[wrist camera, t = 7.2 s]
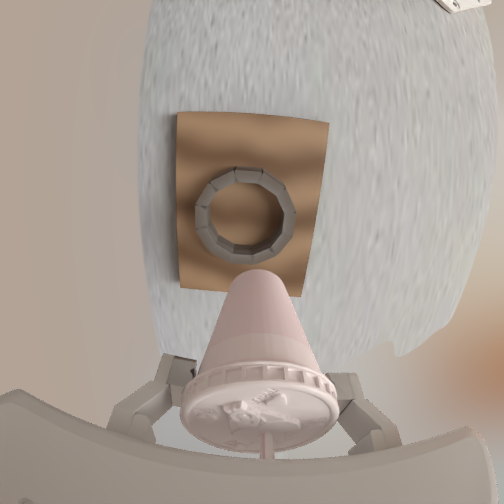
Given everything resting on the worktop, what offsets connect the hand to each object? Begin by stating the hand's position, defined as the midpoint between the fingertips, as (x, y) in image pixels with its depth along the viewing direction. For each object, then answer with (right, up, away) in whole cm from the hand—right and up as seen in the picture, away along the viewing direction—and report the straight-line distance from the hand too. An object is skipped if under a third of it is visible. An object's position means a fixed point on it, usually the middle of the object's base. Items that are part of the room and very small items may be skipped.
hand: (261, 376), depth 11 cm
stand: (-1, +11, +21) cm, 23 cm away
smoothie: (0, +3, +6) cm, 7 cm away
